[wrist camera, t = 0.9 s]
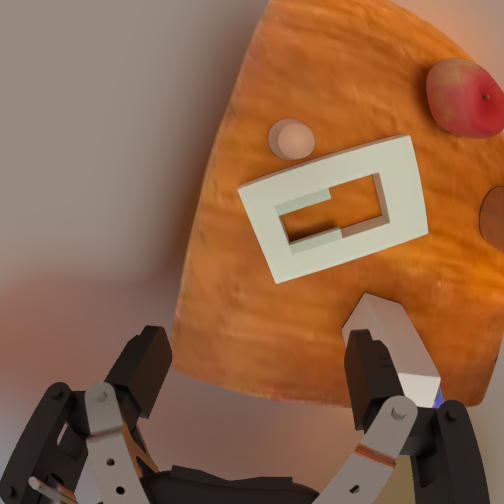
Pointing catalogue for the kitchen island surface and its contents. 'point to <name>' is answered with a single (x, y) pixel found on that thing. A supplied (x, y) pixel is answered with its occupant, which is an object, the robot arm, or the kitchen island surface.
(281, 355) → the kitchen island surface
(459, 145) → the kitchen island surface
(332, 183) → the keyhole board
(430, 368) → the milk carton
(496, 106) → the apple
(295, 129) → the headed peg
